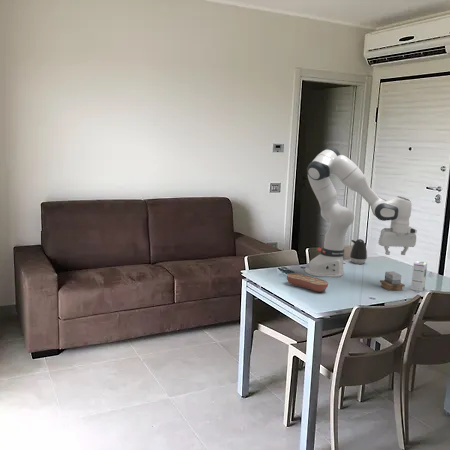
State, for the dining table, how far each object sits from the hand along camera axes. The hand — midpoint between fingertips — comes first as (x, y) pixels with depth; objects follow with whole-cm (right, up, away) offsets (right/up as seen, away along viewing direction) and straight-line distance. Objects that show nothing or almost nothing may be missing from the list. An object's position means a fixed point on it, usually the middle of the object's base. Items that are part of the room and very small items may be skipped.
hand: (395, 254), depth 259 cm
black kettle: (-5, -9, +53) cm, 54 cm away
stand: (-1, -18, +3) cm, 18 cm away
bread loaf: (-47, -17, -4) cm, 50 cm away
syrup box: (+13, -19, +3) cm, 23 cm away
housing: (-1, -15, +2) cm, 15 cm away
